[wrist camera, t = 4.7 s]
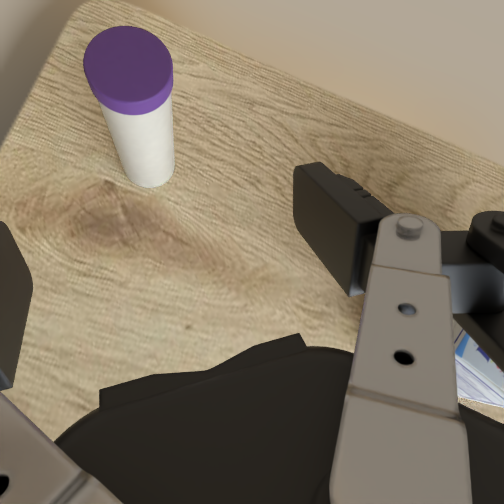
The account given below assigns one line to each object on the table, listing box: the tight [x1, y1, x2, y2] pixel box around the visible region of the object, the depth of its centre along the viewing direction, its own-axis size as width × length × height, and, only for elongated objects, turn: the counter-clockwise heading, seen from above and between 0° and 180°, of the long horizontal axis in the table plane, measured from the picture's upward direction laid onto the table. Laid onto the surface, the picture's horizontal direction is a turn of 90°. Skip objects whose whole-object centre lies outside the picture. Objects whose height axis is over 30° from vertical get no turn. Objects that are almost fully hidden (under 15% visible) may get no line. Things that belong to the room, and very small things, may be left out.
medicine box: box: [453, 319, 504, 408], centre depth 22 cm, size 8×4×9 cm, turn 141°
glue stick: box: [83, 26, 175, 188], centre depth 20 cm, size 3×3×10 cm
